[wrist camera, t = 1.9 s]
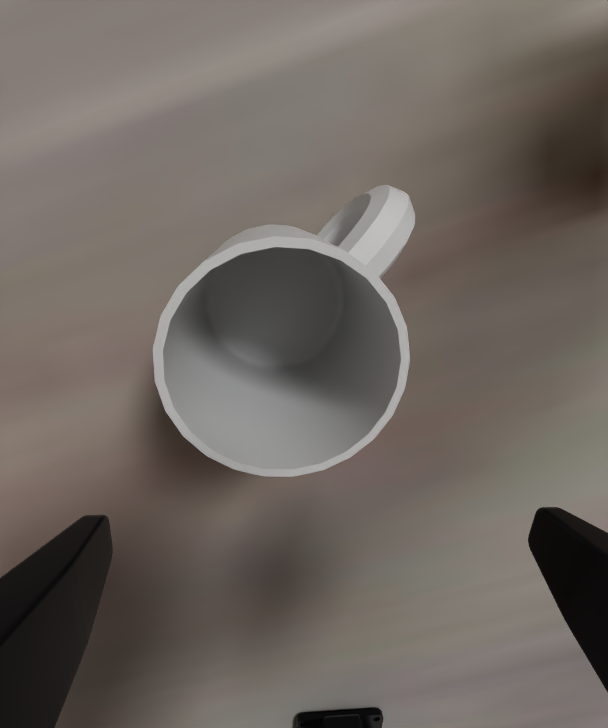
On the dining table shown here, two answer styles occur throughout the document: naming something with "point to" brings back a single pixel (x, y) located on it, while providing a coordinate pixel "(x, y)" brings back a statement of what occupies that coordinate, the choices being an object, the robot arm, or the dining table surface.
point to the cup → (290, 341)
